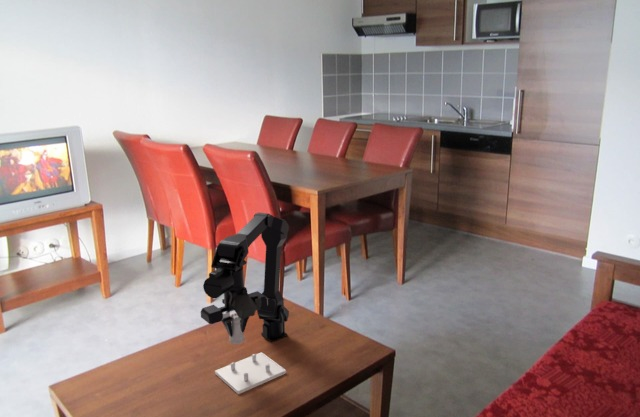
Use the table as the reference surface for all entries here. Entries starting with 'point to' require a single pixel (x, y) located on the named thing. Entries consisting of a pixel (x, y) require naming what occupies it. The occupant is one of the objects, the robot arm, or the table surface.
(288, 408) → the table surface
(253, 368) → the peg board
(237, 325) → the rook chess piece
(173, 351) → the table surface
